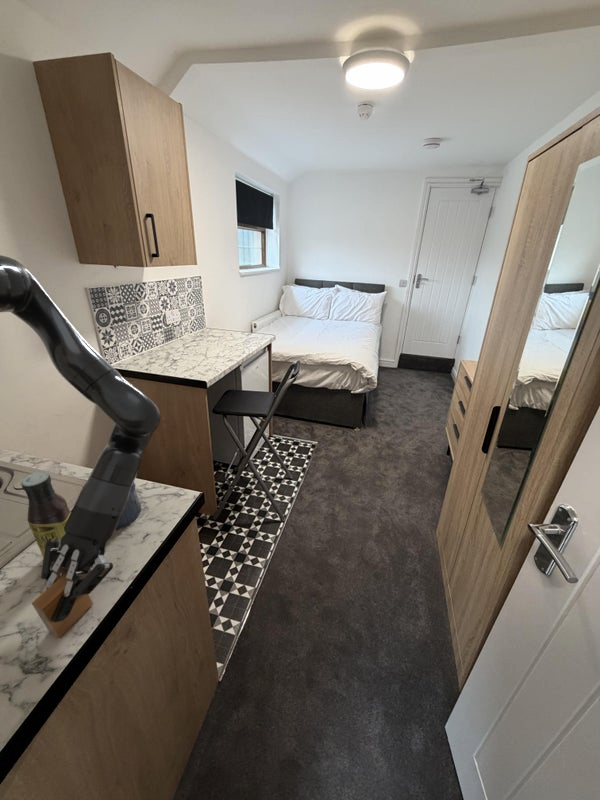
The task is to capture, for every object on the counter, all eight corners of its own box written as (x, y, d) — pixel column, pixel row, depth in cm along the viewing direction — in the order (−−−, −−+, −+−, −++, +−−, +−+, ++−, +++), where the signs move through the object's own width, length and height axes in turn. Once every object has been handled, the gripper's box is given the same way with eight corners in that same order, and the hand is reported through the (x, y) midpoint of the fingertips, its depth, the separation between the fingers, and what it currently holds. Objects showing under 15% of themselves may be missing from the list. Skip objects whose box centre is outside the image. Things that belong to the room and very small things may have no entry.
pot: (83, 529, 72) (74, 505, 69) (110, 498, 81) (103, 475, 78) (126, 533, 71) (118, 509, 68) (149, 500, 80) (143, 478, 77)
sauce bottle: (38, 564, 64) (-1, 486, 56) (66, 539, 70) (34, 464, 61) (65, 572, 63) (30, 492, 54) (91, 546, 68) (62, 470, 60)
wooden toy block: (49, 632, 53) (31, 603, 49) (83, 598, 58) (68, 569, 54) (59, 638, 52) (41, 609, 49) (93, 603, 57) (79, 574, 54)
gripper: (52, 493, 55) (-2, 604, 51) (112, 517, 51) (59, 642, 46) (89, 497, 62) (44, 595, 57) (145, 519, 58) (101, 627, 53)
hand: (51, 616), depth 52 cm, fingers closed on wooden toy block, 2 cm apart
